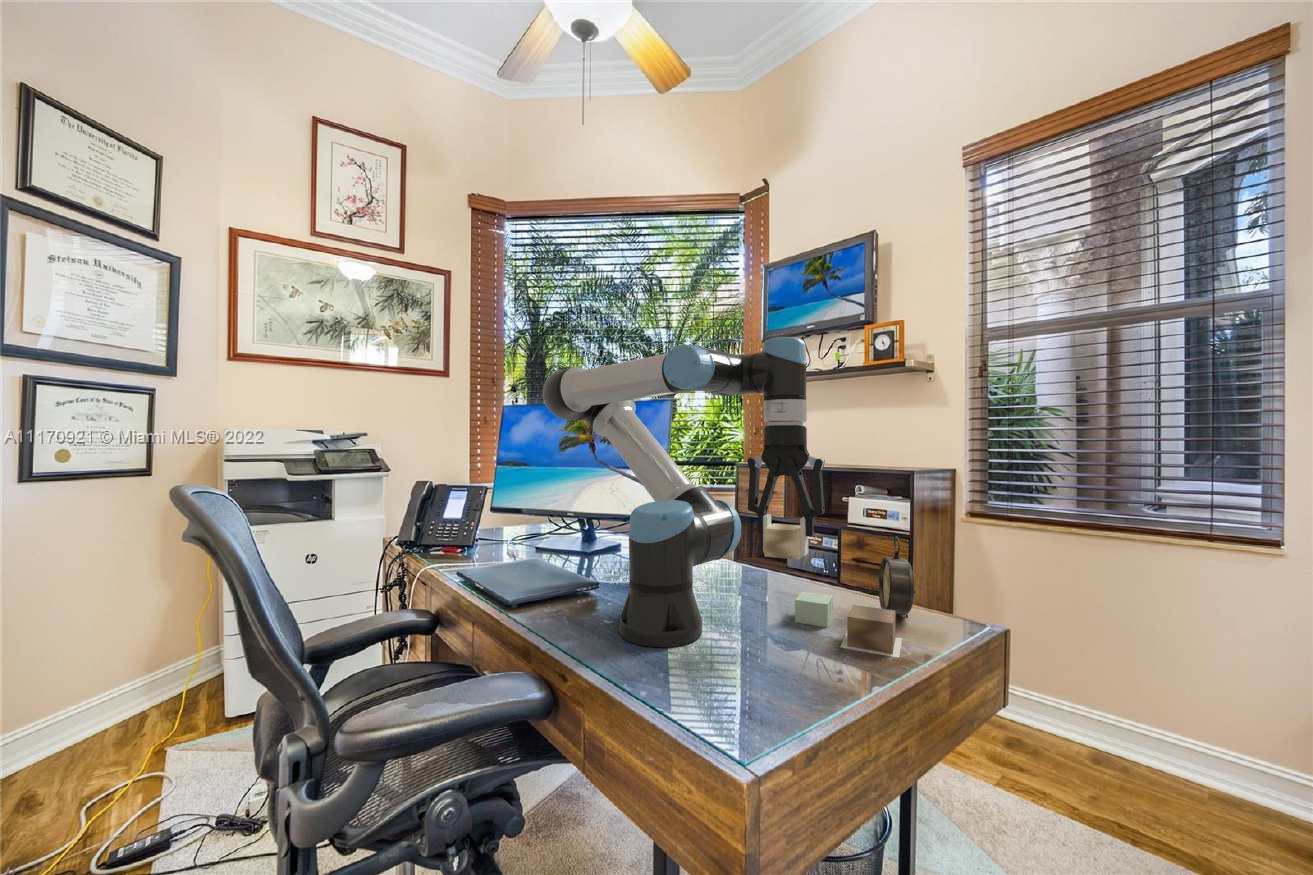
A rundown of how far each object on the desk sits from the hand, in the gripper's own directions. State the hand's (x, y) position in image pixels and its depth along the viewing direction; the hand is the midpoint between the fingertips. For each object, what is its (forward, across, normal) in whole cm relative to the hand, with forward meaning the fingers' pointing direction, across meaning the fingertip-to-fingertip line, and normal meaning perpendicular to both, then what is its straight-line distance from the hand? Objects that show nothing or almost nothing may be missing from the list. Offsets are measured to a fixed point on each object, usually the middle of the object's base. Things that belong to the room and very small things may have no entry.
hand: (785, 552), depth 96 cm
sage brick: (+15, +3, +9) cm, 18 cm away
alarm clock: (+15, +17, +19) cm, 30 cm away
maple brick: (0, 0, 0) cm, 0 cm away
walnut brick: (+14, +14, +2) cm, 20 cm away
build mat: (+15, +14, +2) cm, 21 cm away
